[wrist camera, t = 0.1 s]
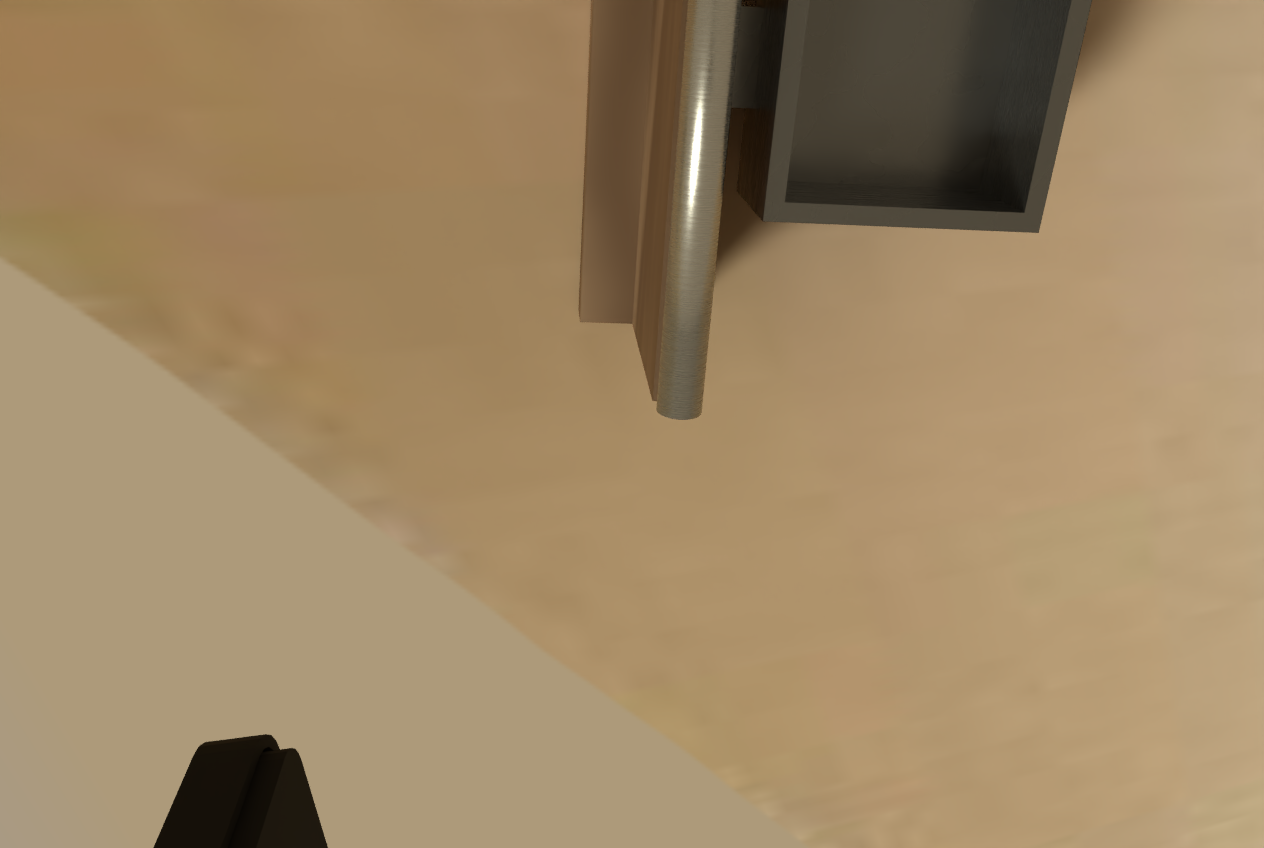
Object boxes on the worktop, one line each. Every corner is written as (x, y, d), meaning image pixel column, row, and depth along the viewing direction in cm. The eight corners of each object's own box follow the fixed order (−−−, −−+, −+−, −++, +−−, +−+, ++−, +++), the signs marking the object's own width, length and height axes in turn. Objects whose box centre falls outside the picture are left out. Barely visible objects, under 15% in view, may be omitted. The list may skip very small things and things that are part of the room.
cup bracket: (1028, -263, 33) (1225, -353, 23) (919, 320, 41) (1032, 426, 32) (603, -303, 31) (632, -416, 22) (578, 309, 40) (591, 418, 30)
